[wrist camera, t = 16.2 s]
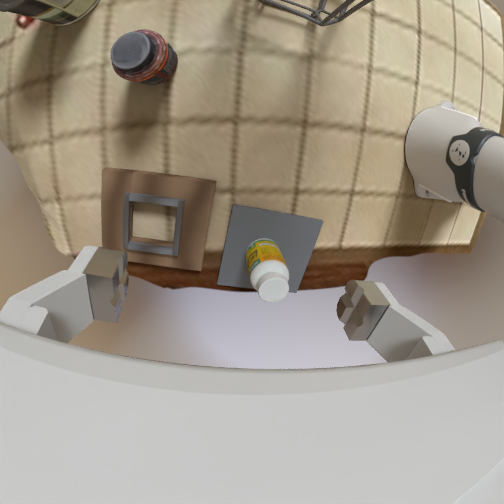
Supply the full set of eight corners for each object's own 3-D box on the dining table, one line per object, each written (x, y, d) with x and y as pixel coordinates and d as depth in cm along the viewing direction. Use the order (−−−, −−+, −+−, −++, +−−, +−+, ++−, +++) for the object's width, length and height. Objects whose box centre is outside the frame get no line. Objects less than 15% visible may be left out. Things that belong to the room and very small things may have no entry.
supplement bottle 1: (173, 38, 25) (156, 13, 16) (182, 76, 29) (168, 65, 19) (130, 53, 25) (96, 37, 16) (139, 91, 29) (107, 88, 19)
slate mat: (322, 220, 42) (323, 221, 41) (295, 291, 48) (296, 292, 48) (233, 204, 39) (233, 205, 38) (217, 282, 45) (217, 284, 45)
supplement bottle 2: (273, 268, 45) (286, 308, 37) (241, 264, 44) (248, 304, 35) (283, 239, 42) (300, 276, 34) (249, 234, 41) (259, 271, 33)
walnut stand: (216, 180, 37) (215, 186, 35) (201, 265, 43) (200, 274, 41) (106, 167, 33) (99, 172, 31) (106, 252, 40) (101, 260, 38)
